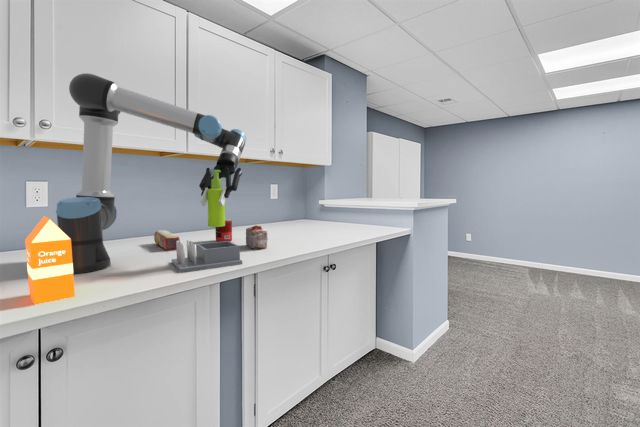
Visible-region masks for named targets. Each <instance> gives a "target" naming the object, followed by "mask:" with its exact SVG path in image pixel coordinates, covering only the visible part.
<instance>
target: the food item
mask: <svg viewBox="0 0 640 427" xmlns="http://www.w3.org/2000/svg"><path fill="white" fill-rule="evenodd" d="M268 240H269V239H268V231H267V230H264V229H263V228H262V225H257V224H256V225H253V226H250V227H247V228H246V229H245V245H246V246H248V248H250V249H253V250H264V249H265V250H266V249H267V247H268Z"/></svg>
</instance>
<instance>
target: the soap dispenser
mask: <svg viewBox="0 0 640 427" xmlns="http://www.w3.org/2000/svg"><path fill="white" fill-rule="evenodd" d="M219 172H221V171H220V170H213V173H214V179H211V189H208V200H207V227H211V228H215V227H223V226H225V218H226V202H225V203H224V205H223V206H221V205H220V203H219V199H220V196H221V193H222V191H223V188H222V179H219Z"/></svg>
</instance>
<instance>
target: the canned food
mask: <svg viewBox="0 0 640 427" xmlns="http://www.w3.org/2000/svg"><path fill="white" fill-rule="evenodd" d="M214 228H215V242H223V241H230V242H232V241H233V222H232V218H230V217H229V218H228V217H225V226H223V227H214Z"/></svg>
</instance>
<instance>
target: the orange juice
mask: <svg viewBox="0 0 640 427" xmlns="http://www.w3.org/2000/svg"><path fill="white" fill-rule="evenodd" d="M24 242H25V253H26V268H27V276H28V277H27V278H28V290H29V291H28V292H29V297H30V299H31V301H32V300H33V301H32V303H33V304H34V305H35V304H38V305H40V304H39V303H43V304H45V303H44V302H47V303H51V302H50V301H52V302H56V301H55V300H57V301H61V300H60V299H62V300H65V299H64V298H66V299H70V297H71V298H75V297H76V296H75V294H76V293H75V280H74V279H75V278H74V274H73V262H72V248H71V239H70V238H69V237H68V236H67V235H66V234H65V233H64V232H63V231H62V230H61V229H60V228H59V227H58V224H57V223H55V222H54V221H52V219H50V218H49V217H47V216H44V215H43V217H42V218H41V219H40V221H39V222H38V223H37V224H36V225H35V227H34V228H33V229H32V231H31V232H30V233H29V234H28V235H27V237H26V238H25V239H24ZM74 296H75V297H74Z"/></svg>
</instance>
